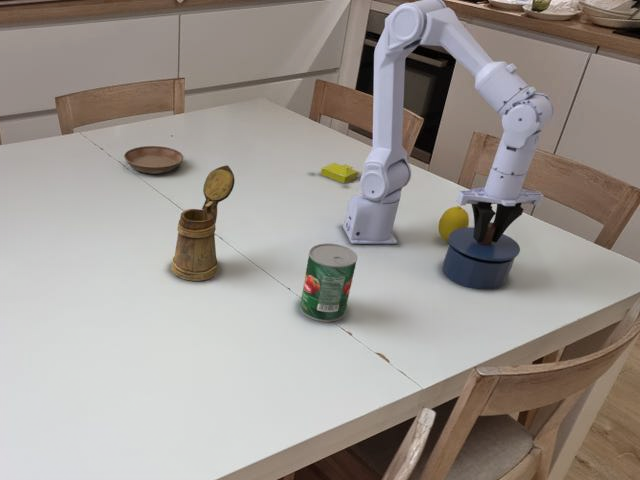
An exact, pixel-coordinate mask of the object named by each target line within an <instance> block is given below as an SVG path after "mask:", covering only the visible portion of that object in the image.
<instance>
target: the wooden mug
mask: <svg viewBox="0 0 640 480" xmlns="http://www.w3.org/2000/svg"><path fill="white" fill-rule="evenodd" d="M235 181H236V180H235V174H234V172H233V171H232V169H231V167H230V166H229V165H228V164H225V165H222V166H219V167H217V168H215V169H213V170H211V171H210V172H209V174H208V175H207V176H206V178H205V180H204V184H203V189H202V192H203V196H204V198H205V200H204V203H203V205H202V207H201V209H198V208H188V209H185V210H184V211H182V212H181V213H180V216H179V217H180V218H179V220H178V221H177V237H176V246H175V251H174V256H173V257H172V261H171V267H170V269H171V272H172V273H173V274H174V276H176V277H178V278H180V279H182V280H185V281H192V282H193V281H194V282H199V281H207V280H210V279H212V278H213V277H215V276H216V275H217V274H218V272H219V261H218V257H217V251H216V237H215V236H216V234H215V232H216V229H217V227H216V223H217V218H218V205H219V203H220V202H222V201H224V200H226V199H227V198H229V196H230V195H231V193H232V192H233V189H234V186H235Z"/></svg>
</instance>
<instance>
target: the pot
mask: <svg viewBox="0 0 640 480" xmlns="http://www.w3.org/2000/svg"><path fill="white" fill-rule="evenodd" d="M444 256H445V257H444V259H443V263H442V268H441V270H442V273H443V275H444V276H445V277H446V278H447V279H448V280H449V281H451V282H453V283H455V284H456V285H459V286H461V287H464V288H468V289H472V290H473V289H474V290H478V291H479V290H481V291H489V290H497V289H499V288H502V286H504V285H505V283H506V282H507V279H508V278H509V277H508V276H509V275H510V273H511V270H512V266H513V264H514V262H515V261H514V260H515V259H516V257H515V258H513V259H511V260H506V261H488V260H482V259H477V258H473V257H470V256H468V255H465V254H463V253H461V252H459V251H458V250H456V249H455V248H453V247H452V246H451V244H450V243H448V247H447V250H446V253H445V255H444Z"/></svg>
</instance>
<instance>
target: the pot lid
mask: <svg viewBox="0 0 640 480" xmlns="http://www.w3.org/2000/svg"><path fill="white" fill-rule="evenodd" d="M496 229H497V225H496V224H495V223H493V222H492V221H490V223H489V225H488V227H487V229H486V232H485V235H484V238H483V240H482V242H477V241H476V240H475V239H474V238H473V236H474V226H473V227H469V226H468V227H467V228H460V229H456V230H454V231H452V232H451V233H450V235H449V243H450V244H451V246H452V247H453V248H455V249H456V250H458V251H459V252H461V253H463V254H465V255H468V256H470V257H473V258H477V259H482V260H488V261H506V260H511V259H513V258H515V259H516V258H517V257H518V256H519V255H520V251H521V248H520V247H521V246H520V245H519V243H518V242H517V241H516V240H515V239H513V238H512V237H510V236H508V235H506V234H504V233H503V234H502V236H501V237H500V238H499V240H498V241H497V242H493V241H492V240H493V237H494V234H495V231H496ZM449 243H448V244H449Z"/></svg>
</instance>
